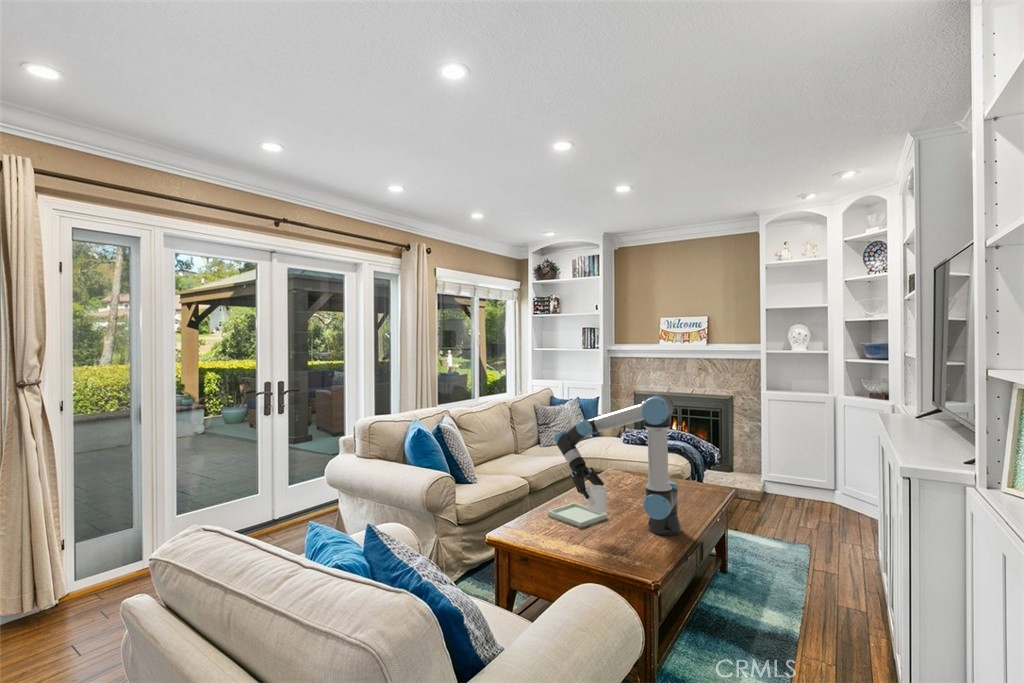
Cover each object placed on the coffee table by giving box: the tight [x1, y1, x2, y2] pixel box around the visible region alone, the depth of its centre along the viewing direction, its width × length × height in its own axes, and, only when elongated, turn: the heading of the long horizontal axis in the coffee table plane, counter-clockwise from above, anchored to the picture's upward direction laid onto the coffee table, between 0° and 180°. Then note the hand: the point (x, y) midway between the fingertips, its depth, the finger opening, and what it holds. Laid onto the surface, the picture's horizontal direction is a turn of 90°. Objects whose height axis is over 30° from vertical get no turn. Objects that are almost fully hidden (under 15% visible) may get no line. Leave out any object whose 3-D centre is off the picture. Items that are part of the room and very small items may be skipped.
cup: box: [582, 484, 608, 513], centre depth 234 cm, size 8×12×10 cm
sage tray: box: [547, 502, 608, 529], centre depth 257 cm, size 22×20×2 cm
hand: (599, 502), depth 232 cm, fingers closed on cup, 8 cm apart
